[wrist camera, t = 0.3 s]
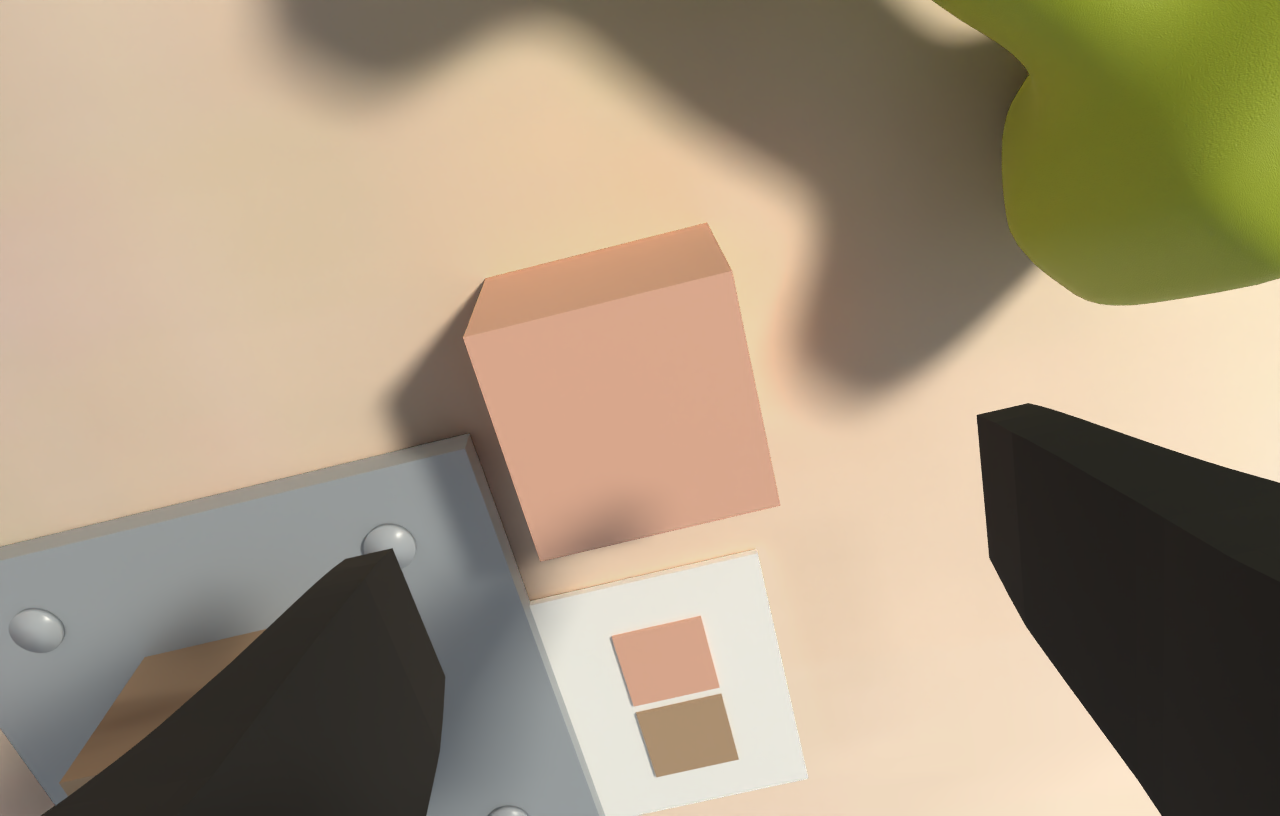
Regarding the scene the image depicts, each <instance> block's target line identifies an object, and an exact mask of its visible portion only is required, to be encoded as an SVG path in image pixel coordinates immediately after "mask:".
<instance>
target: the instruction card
mask: <svg viewBox="0 0 1280 816" xmlns="http://www.w3.org/2000/svg"><path fill="white" fill-rule="evenodd" d="M529 606H530V609H531V612H532V614H533V617H534V620H535V623H536V625H537V628H538V631H539V634H540V637H541V639H542V642H543V645H544V648H545V650H546V653H547V656H548V659H549V661H550V664H551V667H552V670H553V672H554V675H555V678H556V681H557V684H558V686H559V689H560V692H561V695H562V697H563V700H564V703H565V706H566V708H567V711H568V714H569V717H570V719H571V722H572V725H573V728H574V731H575V733H576V736H577V739H578V742H579V744H580V747H581V750H582V753H583V755H584V758H585V761H586V764H587V766H588V769H589V772H590V775H591V778H592V780H593V783H594V786H595V789H596V791H597V794H598V797H599V800H600V802H601V805H602V808H603V811H604V813H605V816H637V815H642V814H646V813H651V812H656V811H660V810H665V809H670V808H674V807H679V806H684V805H688V804H693V803H697V802H702V801H707V800H711V799H716V798H721V797H725V796H730V795H735V794H739V793H744V792H749V791H753V790H758V789H763V788H767V787H772V786H776V785H781V784H786V783H790V782H795V781H800V780H804V779H808V775H807V770H806V766H805V761H804V757H803V752H802V748H801V744H800V739H799V735H798V730H797V726H796V721H795V717H794V712H793V708H792V704H791V699H790V695H789V690H788V686H787V681H786V677H785V672H784V668H783V663H782V659H781V655H780V650H779V646H778V641H777V637H776V632H775V628H774V623H773V619H772V614H771V610H770V606H769V601H768V597H767V592H766V588H765V583H764V579H763V574H762V570H761V566H760V561H759V557H758V552H757V549H754V550H749V551H745V552H741V553H736V554H732V555H728V556H723V557H719V558H715V559H710V560H706V561H702V562H697V563H693V564H689V565H684V566H680V567H676V568H671V569H667V570H663V571H658V572H654V573H650V574H645V575H641V576H637V577H632V578H628V579H624V580H619V581H615V582H611V583H606V584H602V585H598V586H593V587H589V588H585V589H580V590H576V591H572V592H567V593H563V594H559V595H554V596H550V597H546V598H541V599H537V600H533V601H530V605H529Z"/></svg>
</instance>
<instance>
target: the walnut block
mask: <svg viewBox="0 0 1280 816" xmlns="http://www.w3.org/2000/svg"><path fill="white" fill-rule="evenodd" d="M265 630H266V629H264V630H260V631H255V632H251V633H247V634H242V635H238V636H234V637H229V638H225V639H221V640H217V641H212V642H208V643H204V644H199V645H195V646H191V647H186V648H182V649H178V650H174V651H169V652H165V653H161V654H156V655H152V656H148V657H144V659H143V660H142V662H141V663H140V665H139V666H138V668H137V669H136V671H135V672H134V674H133V675H132V676H131V678H130V679H129V681H128V682H127V684H126V685H125V687H124V688H123V690H122V691H121V693H120V694H119V696H118V697H117V699H116V700H115V701H114V703H113V704H112V706H111V707H110V709H109V710H108V712H107V713H106V715H105V716H104V718H103V719H102V721H101V722H100V724H99V725H98V726H97V728H96V729H95V731H94V732H93V734H92V735H91V737H90V738H89V740H88V741H87V743H86V744H85V746H84V747H83V749H82V750H81V751H80V753H79V754H78V756H77V757H76V759H75V760H74V762H73V763H72V765H71V766H70V768H69V769H68V771H67V772H66V774H65V775H64V776H63V778H62V779H61V781H60V782H59V784H60V785H61V787H62V788H63V790H64V791H65V793H66V794H67V795H68V796H69V795H71V794H72V793H73V792H75V791H76V790H77V789H79V788H80V787H81V786H83V785H84V784H85V783H87V782H88V781H89V780H91V779H92V778H93V777H95V776H96V775H97V774H99V773H100V772H101V771H103V770H104V769H105V768H107V767H108V766H109V765H111V764H112V763H113V762H115V761H116V760H117V759H118V758H120V757H121V756H122V755H124V754H125V753H126V752H127V751H129V750H130V749H131V748H132V747H134V746H135V745H136V744H137V743H139V742H140V741H141V740H142V739H144V738H145V737H146V736H147V735H148V734H150V733H151V732H152V731H153V730H154V729H156V728H157V727H158V726H159V725H160V724H162V723H163V722H164V721H165V720H166V719H167V718H168V717H170V716H171V715H172V714H173V713H174V712H175V711H176V710H177V709H179V708H180V707H181V706H182V705H183V704H184V703H185V702H187V701H188V700H189V699H190V698H191V697H192V696H193V695H195V694H196V693H197V692H198V691H199V690H200V689H201V688H203V687H204V686H205V685H206V684H207V683H208V682H209V681H210V680H212V679H213V678H214V677H215V676H216V675H217V674H218V673H220V672H221V671H222V670H223V669H224V668H225V667H226V666H227V665H229V664H230V663H231V662H232V661H233V660H234V659H235V658H236V657H237V656H238V655H239V654H240V653H241V652H242V651H244V650H245V649H246V648H247V647H248V646H249V645H250V644H251V643H252V642H253V641H254V640H255V639H256V638H257V637H258V636H259V635H261V634H262V633H263V632H264V631H265Z"/></svg>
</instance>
